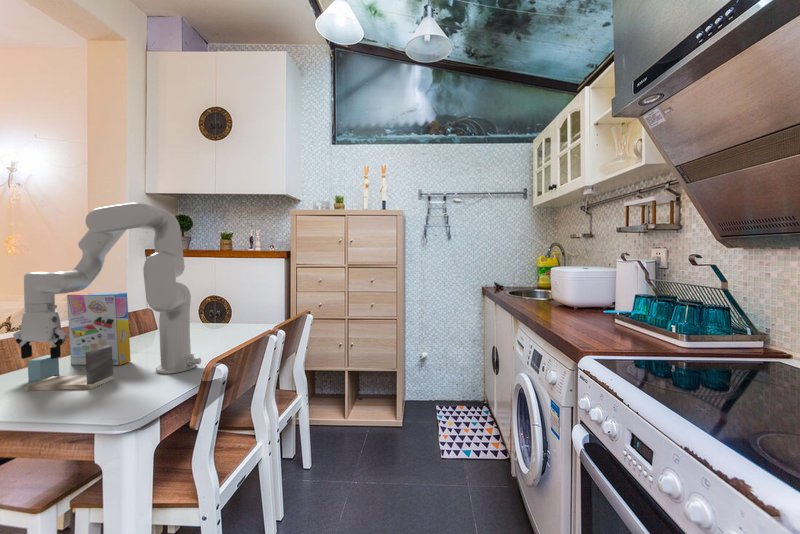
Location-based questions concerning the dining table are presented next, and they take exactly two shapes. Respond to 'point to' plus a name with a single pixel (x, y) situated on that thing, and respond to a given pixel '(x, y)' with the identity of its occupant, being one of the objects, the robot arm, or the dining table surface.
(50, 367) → the pale blue upright box
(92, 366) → the wooden bookend
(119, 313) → the game box
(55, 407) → the dining table surface
